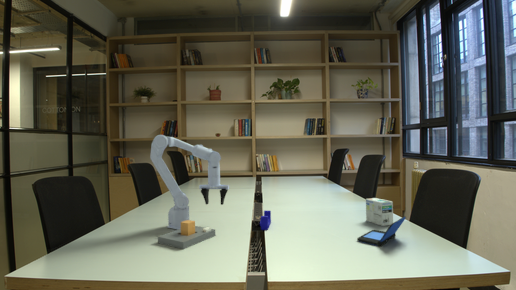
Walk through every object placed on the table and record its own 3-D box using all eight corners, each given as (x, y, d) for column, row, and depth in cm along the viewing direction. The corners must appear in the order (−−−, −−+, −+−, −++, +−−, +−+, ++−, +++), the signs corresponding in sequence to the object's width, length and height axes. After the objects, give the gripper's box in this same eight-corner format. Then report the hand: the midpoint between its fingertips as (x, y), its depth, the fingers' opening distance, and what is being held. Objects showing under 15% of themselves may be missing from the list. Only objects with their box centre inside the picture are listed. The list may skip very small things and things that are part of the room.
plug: (180, 239, 117) (180, 222, 117) (188, 236, 121) (187, 219, 121) (188, 241, 115) (187, 223, 115) (195, 238, 119) (194, 221, 119)
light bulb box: (393, 224, 133) (393, 201, 133) (382, 226, 131) (382, 202, 131) (376, 219, 143) (376, 197, 143) (365, 220, 140) (365, 198, 140)
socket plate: (157, 242, 114) (157, 234, 114) (190, 230, 129) (190, 222, 129) (183, 249, 106) (183, 239, 106) (215, 235, 122) (215, 227, 122)
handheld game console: (373, 232, 123) (372, 210, 123) (407, 239, 113) (406, 215, 113) (356, 242, 112) (355, 217, 112) (392, 250, 102) (391, 224, 102)
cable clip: (261, 222, 141) (261, 210, 141) (270, 223, 140) (270, 210, 140) (257, 230, 129) (257, 216, 129) (267, 230, 128) (267, 216, 128)
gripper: (196, 176, 137) (197, 205, 137) (225, 177, 135) (226, 206, 135) (202, 175, 144) (202, 202, 144) (230, 175, 141) (230, 203, 142)
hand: (214, 204), depth 140 cm, fingers open, 7 cm apart
